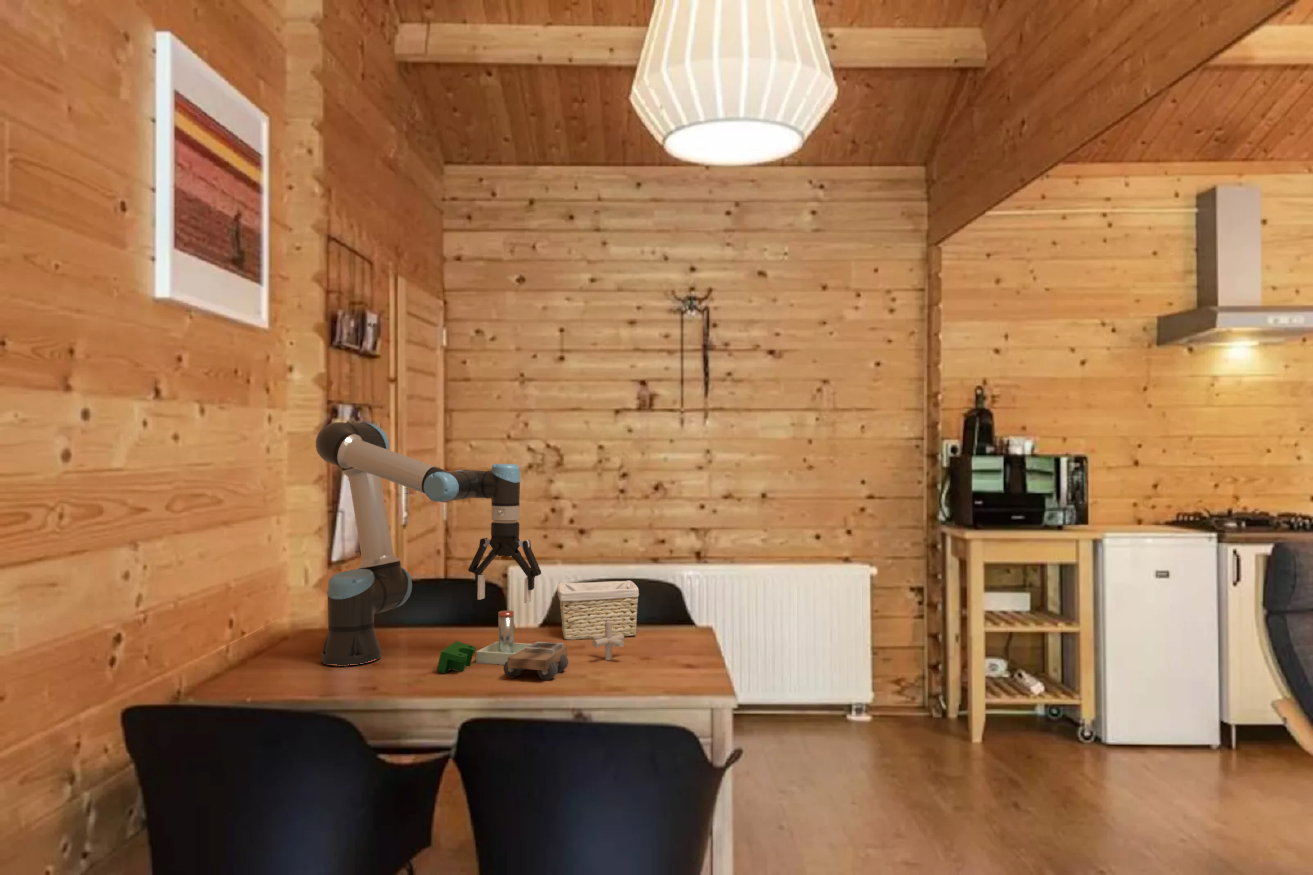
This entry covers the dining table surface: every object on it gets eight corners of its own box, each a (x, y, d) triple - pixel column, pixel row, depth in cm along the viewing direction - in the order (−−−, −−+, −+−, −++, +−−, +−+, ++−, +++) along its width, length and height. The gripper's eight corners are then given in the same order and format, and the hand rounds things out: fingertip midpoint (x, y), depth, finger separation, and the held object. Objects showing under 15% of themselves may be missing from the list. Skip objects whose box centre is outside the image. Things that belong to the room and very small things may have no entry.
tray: (476, 663, 227) (476, 651, 227) (495, 652, 238) (495, 641, 238) (516, 665, 224) (516, 654, 224) (534, 655, 235) (534, 644, 235)
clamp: (457, 690, 217) (460, 662, 214) (435, 684, 218) (438, 655, 214) (475, 661, 228) (478, 633, 224) (454, 655, 229) (457, 627, 225)
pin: (496, 658, 229) (495, 613, 229) (502, 654, 233) (502, 610, 233) (510, 659, 228) (509, 613, 228) (516, 655, 232) (515, 610, 232)
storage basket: (559, 641, 251) (559, 591, 251) (556, 629, 267) (556, 582, 267) (640, 638, 255) (640, 588, 255) (633, 626, 271) (633, 579, 271)
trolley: (499, 679, 210) (499, 653, 210) (523, 665, 224) (523, 640, 224) (550, 683, 207) (550, 656, 207) (571, 668, 220) (571, 643, 220)
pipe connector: (582, 660, 229) (581, 622, 229) (609, 653, 236) (608, 616, 236) (608, 666, 222) (607, 627, 222) (635, 659, 229) (634, 621, 230)
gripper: (456, 520, 231) (455, 599, 231) (542, 524, 224) (541, 606, 224) (469, 518, 238) (468, 595, 238) (554, 521, 231) (552, 600, 231)
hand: (504, 600), depth 231 cm, fingers open, 13 cm apart
